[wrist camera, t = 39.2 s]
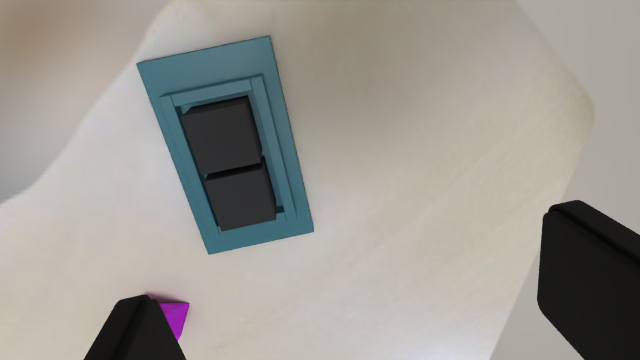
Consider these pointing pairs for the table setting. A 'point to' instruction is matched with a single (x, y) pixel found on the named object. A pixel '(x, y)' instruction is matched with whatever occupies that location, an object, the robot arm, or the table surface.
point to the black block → (223, 135)
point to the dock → (271, 121)
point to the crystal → (175, 316)
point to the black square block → (242, 196)
